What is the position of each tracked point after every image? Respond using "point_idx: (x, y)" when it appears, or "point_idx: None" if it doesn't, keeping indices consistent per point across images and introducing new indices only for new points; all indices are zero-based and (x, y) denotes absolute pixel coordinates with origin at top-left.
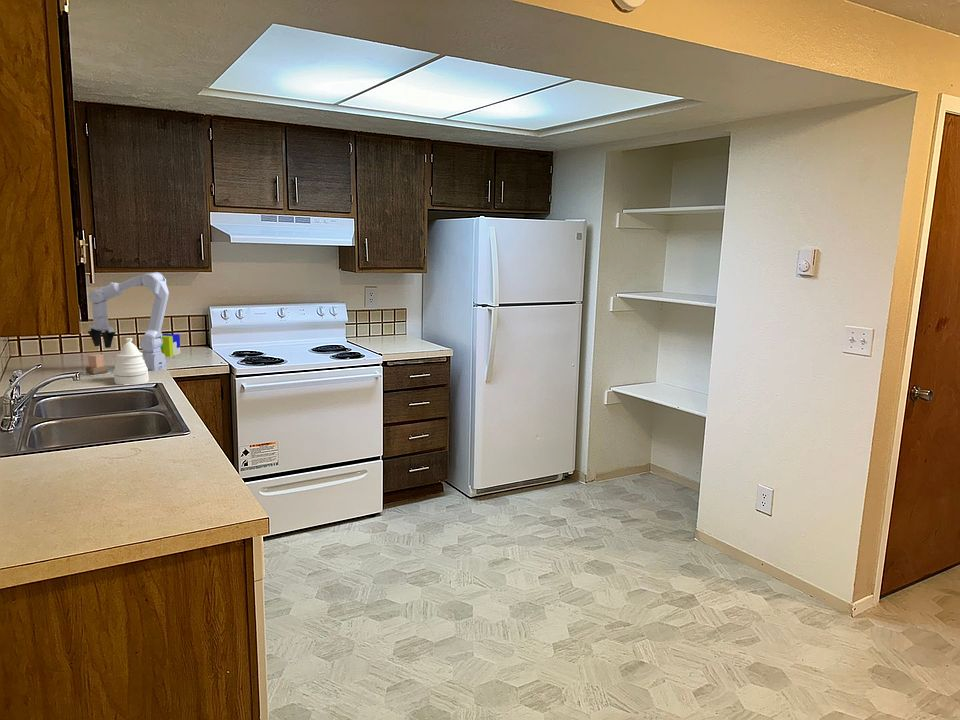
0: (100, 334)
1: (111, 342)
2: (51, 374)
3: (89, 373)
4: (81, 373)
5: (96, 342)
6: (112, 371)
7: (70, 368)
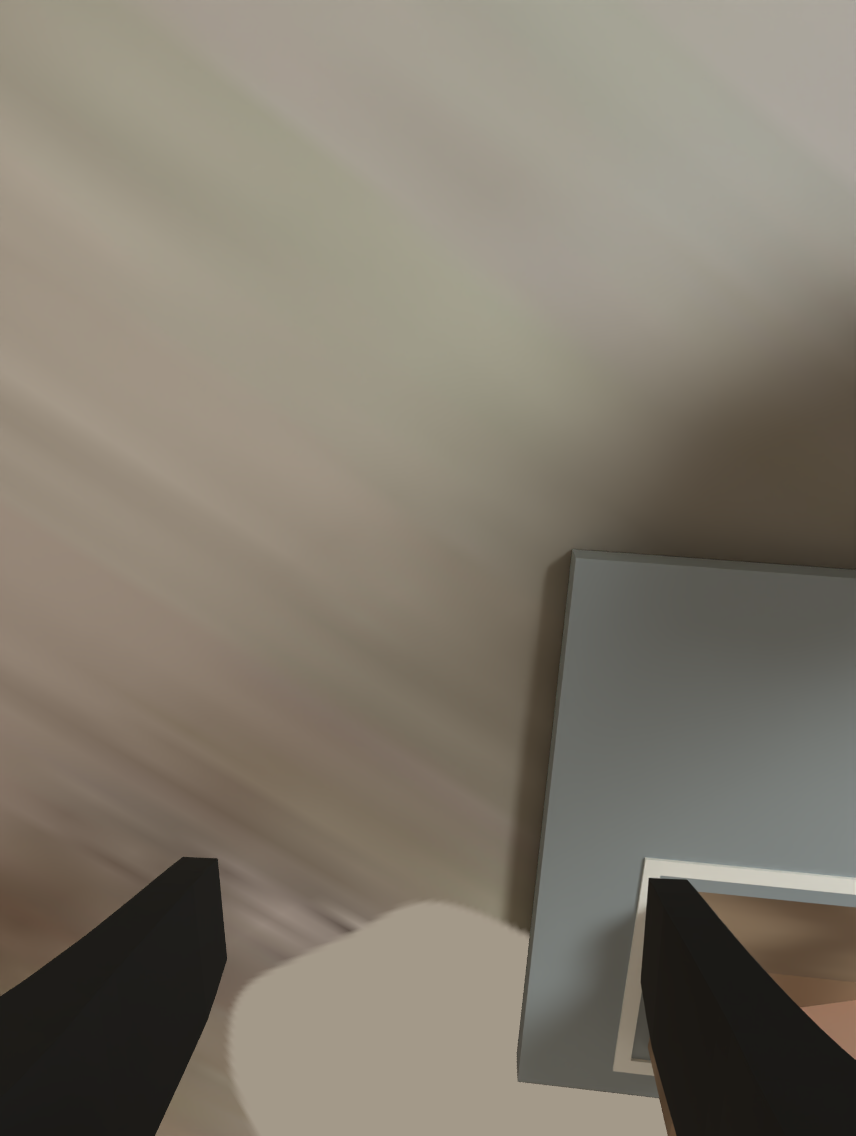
0: (10, 1107)
1: (768, 977)
2: (234, 1130)
3: None
4: (593, 1066)
5: (179, 1010)
6: (838, 809)
7: (28, 841)
